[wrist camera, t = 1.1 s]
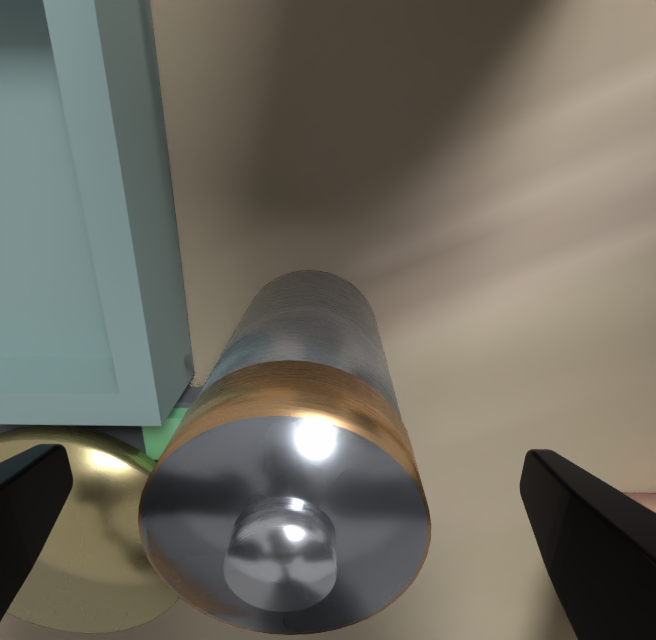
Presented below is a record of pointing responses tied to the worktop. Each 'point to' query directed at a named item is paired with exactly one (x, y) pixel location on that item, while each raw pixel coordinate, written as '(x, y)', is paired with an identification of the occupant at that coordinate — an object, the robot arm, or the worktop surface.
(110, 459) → the brass disc
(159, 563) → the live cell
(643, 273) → the worktop surface
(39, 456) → the robot arm
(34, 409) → the teal shallow square tray
